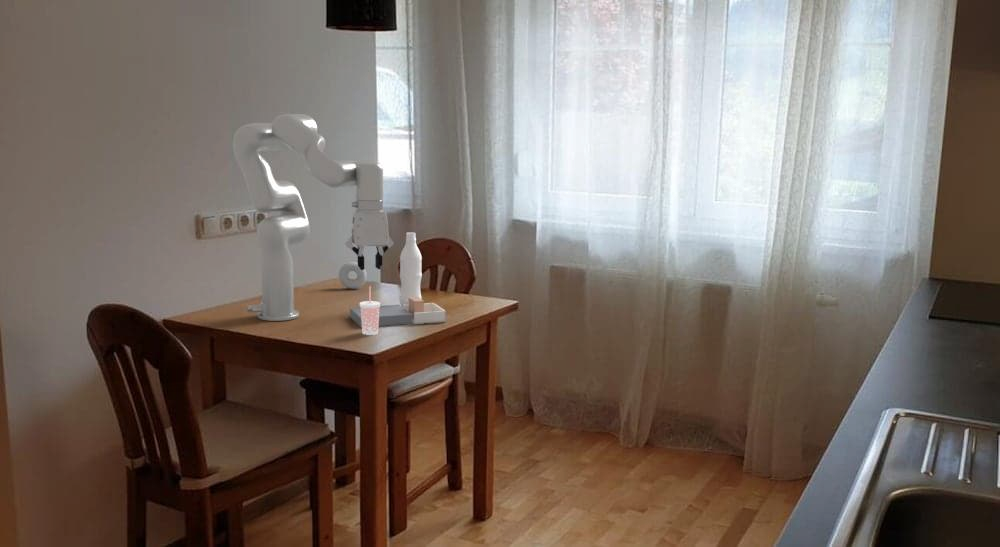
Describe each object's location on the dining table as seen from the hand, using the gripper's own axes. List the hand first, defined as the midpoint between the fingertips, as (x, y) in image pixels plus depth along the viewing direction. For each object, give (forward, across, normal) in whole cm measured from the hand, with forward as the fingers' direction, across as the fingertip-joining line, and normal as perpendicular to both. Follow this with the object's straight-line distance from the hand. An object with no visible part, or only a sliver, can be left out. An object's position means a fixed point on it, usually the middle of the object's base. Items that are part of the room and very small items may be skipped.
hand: (369, 268), depth 258 cm
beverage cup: (+20, 0, 0) cm, 20 cm away
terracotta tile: (+16, +16, +12) cm, 26 cm away
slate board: (+19, +7, +14) cm, 25 cm away
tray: (+19, +20, +12) cm, 31 cm away
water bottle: (+20, +21, +28) cm, 40 cm away
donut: (+20, +10, +63) cm, 67 cm away
